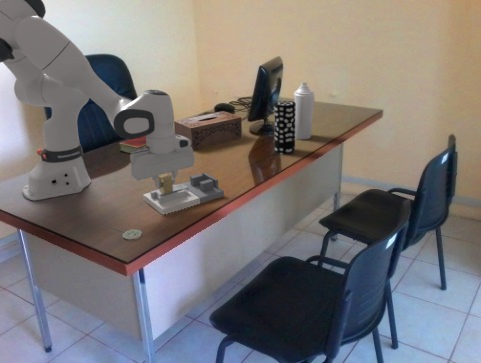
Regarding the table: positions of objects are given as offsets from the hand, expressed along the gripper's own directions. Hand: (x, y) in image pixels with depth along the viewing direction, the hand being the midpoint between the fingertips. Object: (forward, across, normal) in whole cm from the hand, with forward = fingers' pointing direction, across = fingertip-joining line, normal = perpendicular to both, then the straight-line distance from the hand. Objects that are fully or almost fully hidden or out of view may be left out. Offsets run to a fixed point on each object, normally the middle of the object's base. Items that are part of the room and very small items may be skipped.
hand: (165, 185), depth 146 cm
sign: (+7, -19, -8) cm, 22 cm away
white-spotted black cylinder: (+6, +61, +14) cm, 63 cm away
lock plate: (+6, +6, 0) cm, 9 cm away
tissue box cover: (+7, +45, +47) cm, 65 cm away
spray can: (+6, +79, +23) cm, 82 cm away
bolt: (+4, +2, 0) cm, 4 cm away
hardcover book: (+7, +20, +58) cm, 61 cm away
